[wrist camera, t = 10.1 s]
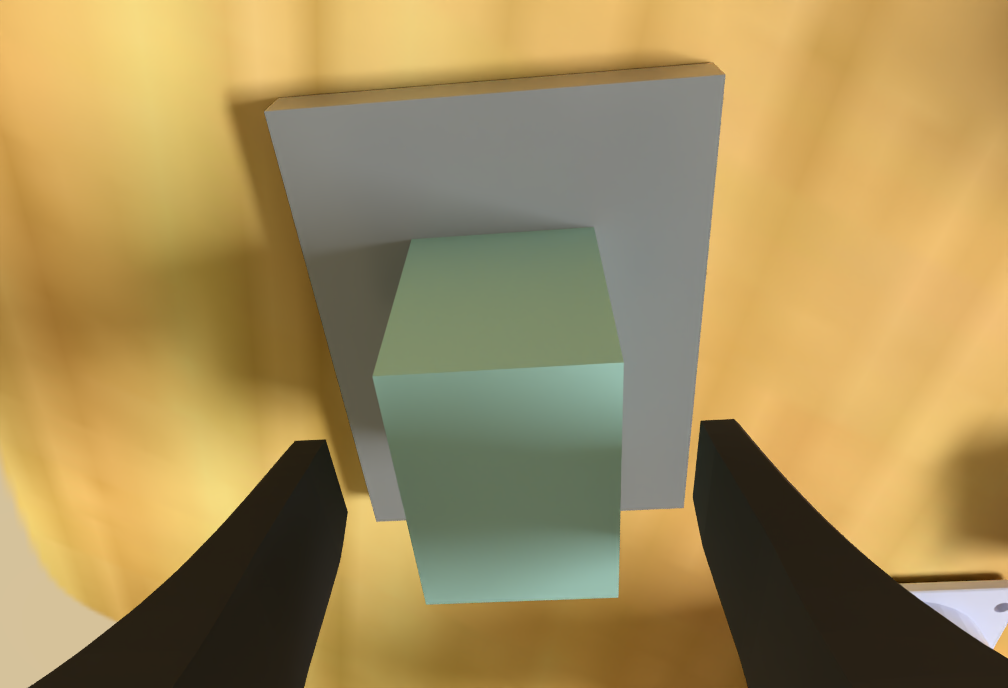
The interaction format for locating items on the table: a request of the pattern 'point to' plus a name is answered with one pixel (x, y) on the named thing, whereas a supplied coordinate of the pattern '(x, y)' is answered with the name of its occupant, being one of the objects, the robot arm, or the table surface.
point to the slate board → (516, 225)
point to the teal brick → (506, 416)
